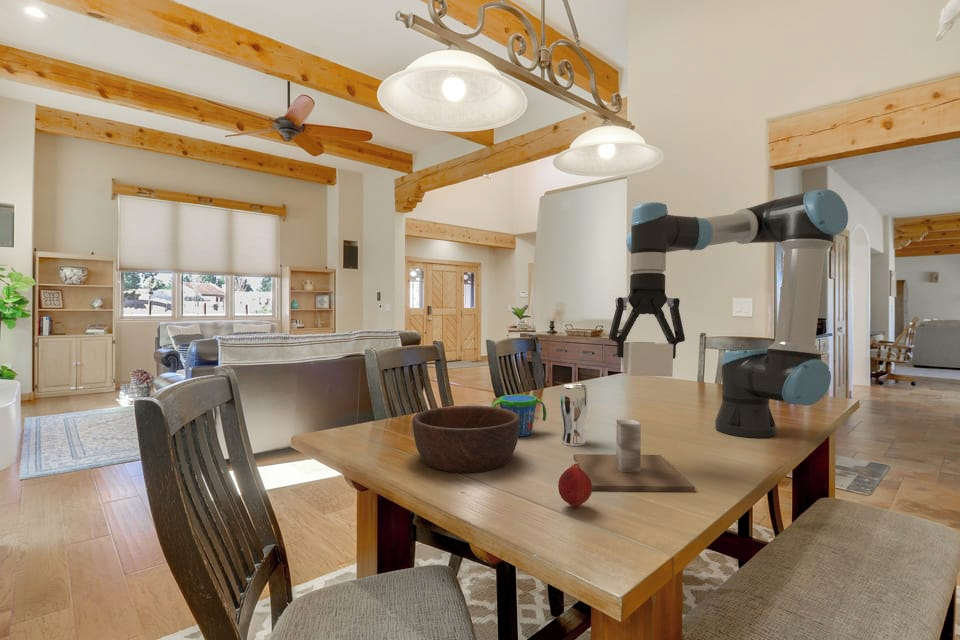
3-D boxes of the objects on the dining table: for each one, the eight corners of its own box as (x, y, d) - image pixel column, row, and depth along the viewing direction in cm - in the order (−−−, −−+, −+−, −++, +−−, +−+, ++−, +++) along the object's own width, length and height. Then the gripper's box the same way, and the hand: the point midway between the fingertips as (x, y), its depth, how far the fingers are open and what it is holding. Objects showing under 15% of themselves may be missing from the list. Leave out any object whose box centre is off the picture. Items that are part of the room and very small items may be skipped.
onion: (570, 516, 82) (570, 469, 82) (552, 504, 88) (551, 460, 88) (598, 510, 85) (598, 465, 85) (579, 499, 90) (579, 456, 90)
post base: (660, 459, 113) (660, 411, 113) (694, 491, 93) (695, 434, 93) (573, 458, 114) (573, 411, 114) (589, 490, 94) (589, 433, 94)
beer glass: (585, 439, 130) (585, 383, 130) (589, 447, 123) (589, 387, 123) (559, 439, 131) (559, 383, 130) (561, 446, 124) (561, 387, 123)
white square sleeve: (659, 371, 115) (660, 341, 115) (672, 376, 106) (673, 344, 106) (620, 370, 115) (621, 341, 115) (630, 375, 107) (631, 343, 106)
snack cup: (490, 439, 131) (490, 401, 131) (490, 429, 142) (490, 394, 142) (548, 438, 131) (548, 401, 131) (544, 429, 142) (544, 394, 141)
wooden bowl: (468, 487, 96) (467, 435, 96) (390, 461, 113) (389, 417, 113) (541, 458, 115) (541, 414, 115) (465, 439, 132) (465, 401, 131)
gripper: (690, 274, 113) (688, 371, 114) (596, 273, 115) (594, 369, 115) (703, 272, 106) (701, 375, 106) (602, 271, 107) (600, 373, 108)
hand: (645, 372), depth 111 cm, fingers closed on white square sleeve, 9 cm apart
